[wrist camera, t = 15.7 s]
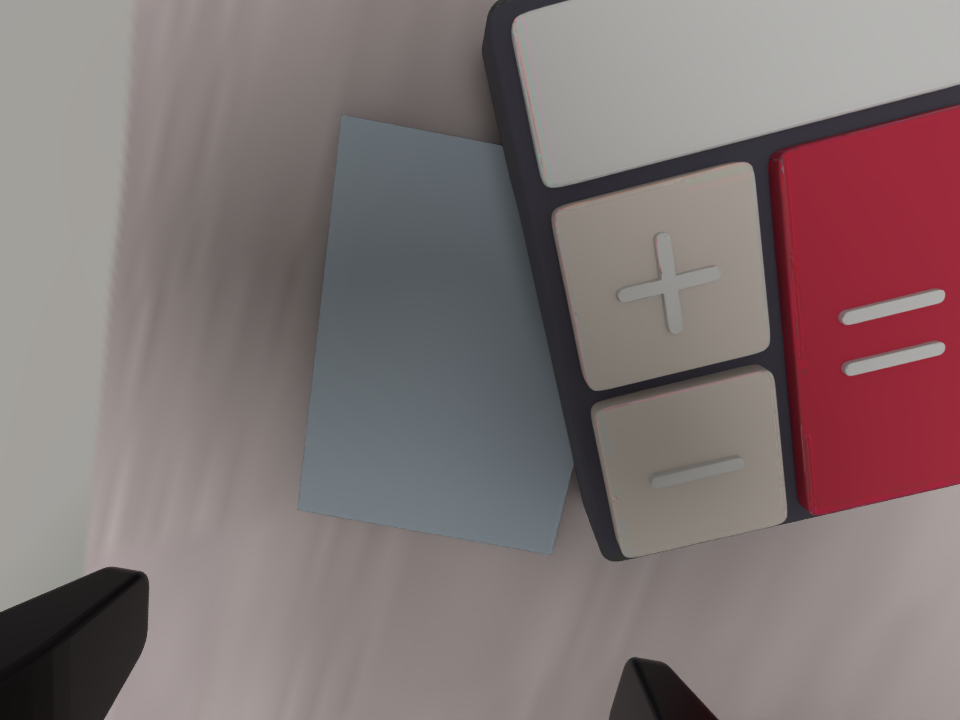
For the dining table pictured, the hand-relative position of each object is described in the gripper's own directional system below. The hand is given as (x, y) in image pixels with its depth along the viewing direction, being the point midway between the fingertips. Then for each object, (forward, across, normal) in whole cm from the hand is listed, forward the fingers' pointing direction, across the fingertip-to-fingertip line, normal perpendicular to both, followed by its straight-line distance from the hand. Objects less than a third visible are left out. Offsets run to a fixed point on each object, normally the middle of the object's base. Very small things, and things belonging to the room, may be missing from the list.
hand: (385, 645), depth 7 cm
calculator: (+11, -10, +3) cm, 16 cm away
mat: (+13, 0, 0) cm, 13 cm away
